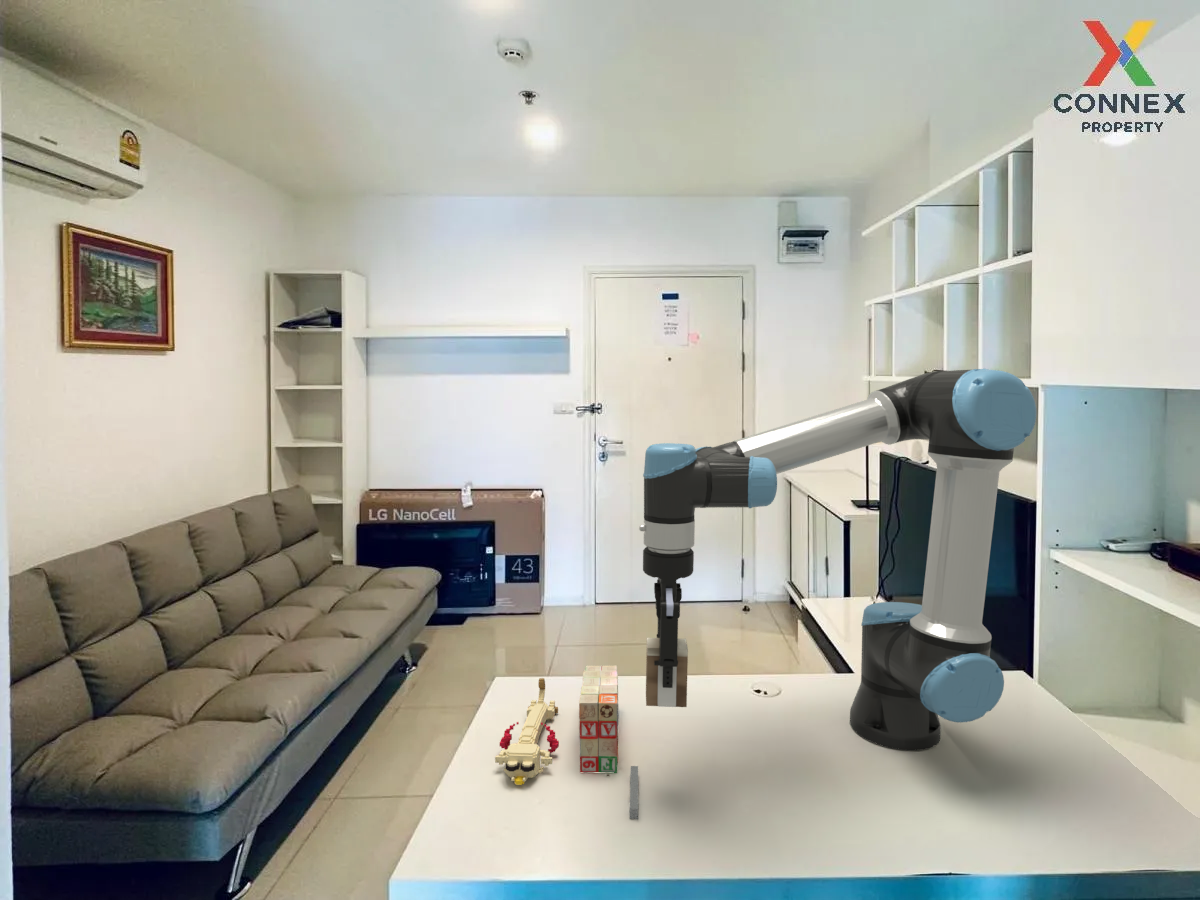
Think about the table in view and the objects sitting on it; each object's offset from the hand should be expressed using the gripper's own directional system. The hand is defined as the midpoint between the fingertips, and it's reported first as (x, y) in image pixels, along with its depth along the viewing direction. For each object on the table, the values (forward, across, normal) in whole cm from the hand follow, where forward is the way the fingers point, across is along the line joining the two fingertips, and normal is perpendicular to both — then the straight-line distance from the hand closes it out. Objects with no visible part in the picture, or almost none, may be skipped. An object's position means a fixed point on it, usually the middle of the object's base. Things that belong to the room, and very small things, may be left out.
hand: (665, 697), depth 103 cm
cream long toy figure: (+16, -13, -22) cm, 30 cm away
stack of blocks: (+16, -16, -11) cm, 25 cm away
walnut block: (0, 0, 0) cm, 0 cm away
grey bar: (+16, +1, -5) cm, 16 cm away
